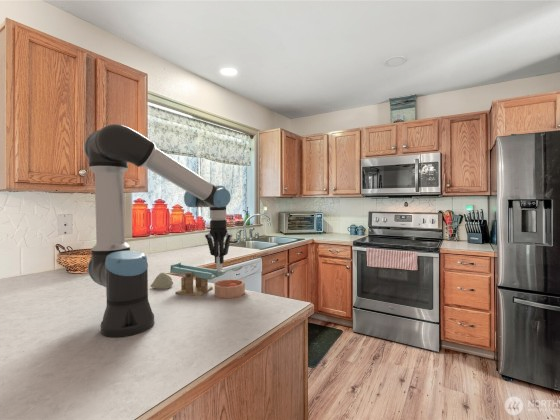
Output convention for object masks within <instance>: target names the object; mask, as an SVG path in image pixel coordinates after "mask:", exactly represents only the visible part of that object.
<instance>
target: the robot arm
mask: <svg viewBox="0 0 560 420" xmlns="http://www.w3.org/2000/svg"><path fill="white" fill-rule="evenodd" d="M83 146H84V153H85V155H86V158H87V159H88V167H89V168H88V169H89V170H90V171H91V172H93V173H94V201H95V203H94V204H95V233H96V234H95V236H96V237H95V238H96V239H95V241H96V243H95V245H94V246H93V247H91V248H90V249H91V250H90V251H91V252H90V253H91V258H90V260H89V262H88V265H87V273H88V275H89V277H90V278H91V279H92V281H93V282H94V283H96V284H98V285H99V286H101V287H102V286H103V287H105V289H106V290H105V291H106V292H105V293H106V294H105V295H106V307H105V310H104V313H103V317H102V321H101V322H100V334H101V335H102V336H104V337H108V338H120V337H121V338H122V337H128V336H132V335H136V334H139V333H142V332H145V331H147V330H149V329H150V328H152V326H153V325H154V324H155V314H154V312H153V311H152V308H151V303H150V302H149V283H148V281H149V279H148V277H149V276H148V271H149V270H148V268H149V264H148V258H147V255H146V254H145V253H143V252H141V251H137V250H134V251H133V250H131V246H130V245H129V244H128V242H126V237H125V236H126V235H125V233H126V231H125V230H126V229H125V198H124V197H125V194H124V193H125V192H124V189H125V186H124V174H125V173H126V172H127V171H128V170H129V163H130V164H132V165H134V166H135V167H138V168H141V167H144V168H145V169H147V170H149V171H151V172H152V173H154V174H156V175H158V176H159V177H161V178H163V179H165V180H166V181H168V182H169V183H172V184H174V185H175V186H176V187H179V188H181V189H182V190H183V191H185V193H184V195H183V201H184V204H185V206H186V207H188V208H195V209H196V208H209V220H210V221H209V228H210V230H209V232H208V233H207V234H205V235H204V237H205V239H206V241H207V245H208V248H209V253H210V255H211V256H214V264H216V270H218V271H221V270H223V264H224V261H225V260H224V259H225V258H224V257H225V256H226V255H228V252H229V248H230V243H231V239H232V237H233V234H231V233H229V231H228V229H227V226H228V222H227V220H226V219H227V206H228V205H229V204H230V202H231V199H232V198H231V192H230V191H229V190H228V189H227V188H226V187H225V185H214V184H212V183H211V182H210V181H208V180H206V179H205V178H204V177H202V176H200V175H199V174H197V173H196V172H195V171H192V170H191V169H189V168H188V167H186V166H185V165H183V164H181V163H180V162H178V161H177V160H176V159H174V158H172V157H171V156H170V155H168V154H167V153H165V152H163V151H162V150H160V149H158V148H157V147H156V144H155V142H154V141H152V140H151V139H149V138H148V137H146V136H145V135H143V134H141V133H140V132H138V131H136V130H134V129H132V128H130V127H128V126H126V125H123V124H119V123H118V124H117V123H114V124H107V125H106V126H103V127H102V128H100V129H98V130H96V131H93V132H92V133H91V134H90V135H88V137H87V138H86V139H85V142H84V145H83Z"/></svg>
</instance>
